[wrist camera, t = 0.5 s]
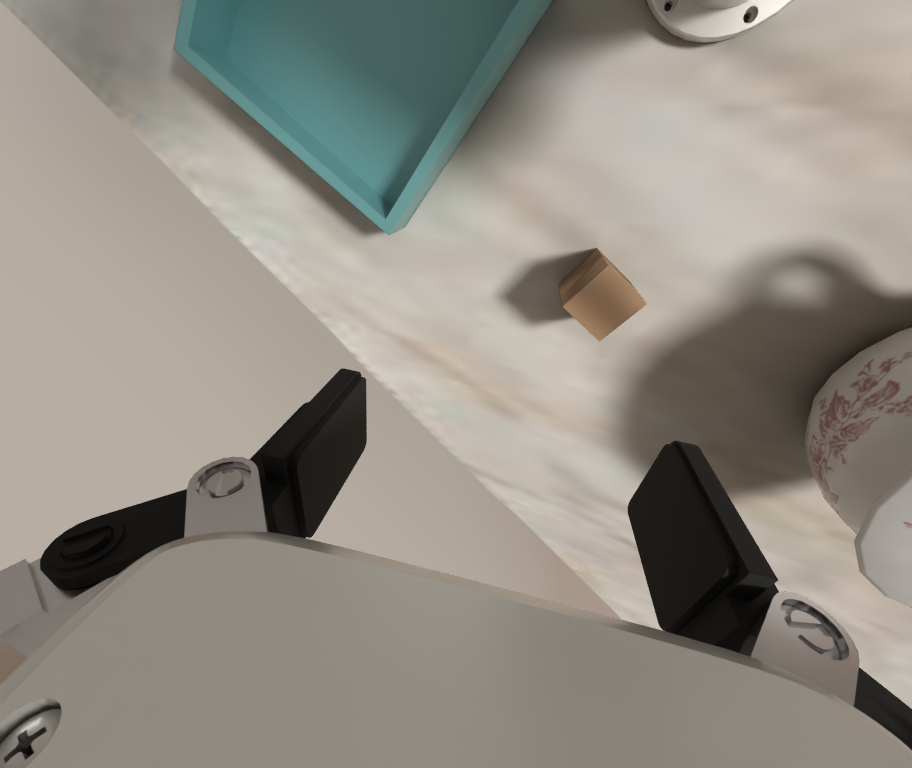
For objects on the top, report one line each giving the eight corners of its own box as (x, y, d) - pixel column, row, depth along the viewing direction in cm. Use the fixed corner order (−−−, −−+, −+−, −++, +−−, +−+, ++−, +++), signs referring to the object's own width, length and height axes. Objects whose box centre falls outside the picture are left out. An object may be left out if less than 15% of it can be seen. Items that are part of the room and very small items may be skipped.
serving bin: (312, -319, 22) (259, -433, 17) (562, -16, 26) (567, -48, 22) (219, 63, 33) (173, 49, 29) (404, 227, 38) (388, 235, 34)
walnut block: (596, 247, 35) (608, 265, 30) (629, 281, 36) (646, 304, 31) (558, 284, 38) (562, 306, 32) (590, 314, 39) (599, 341, 33)
